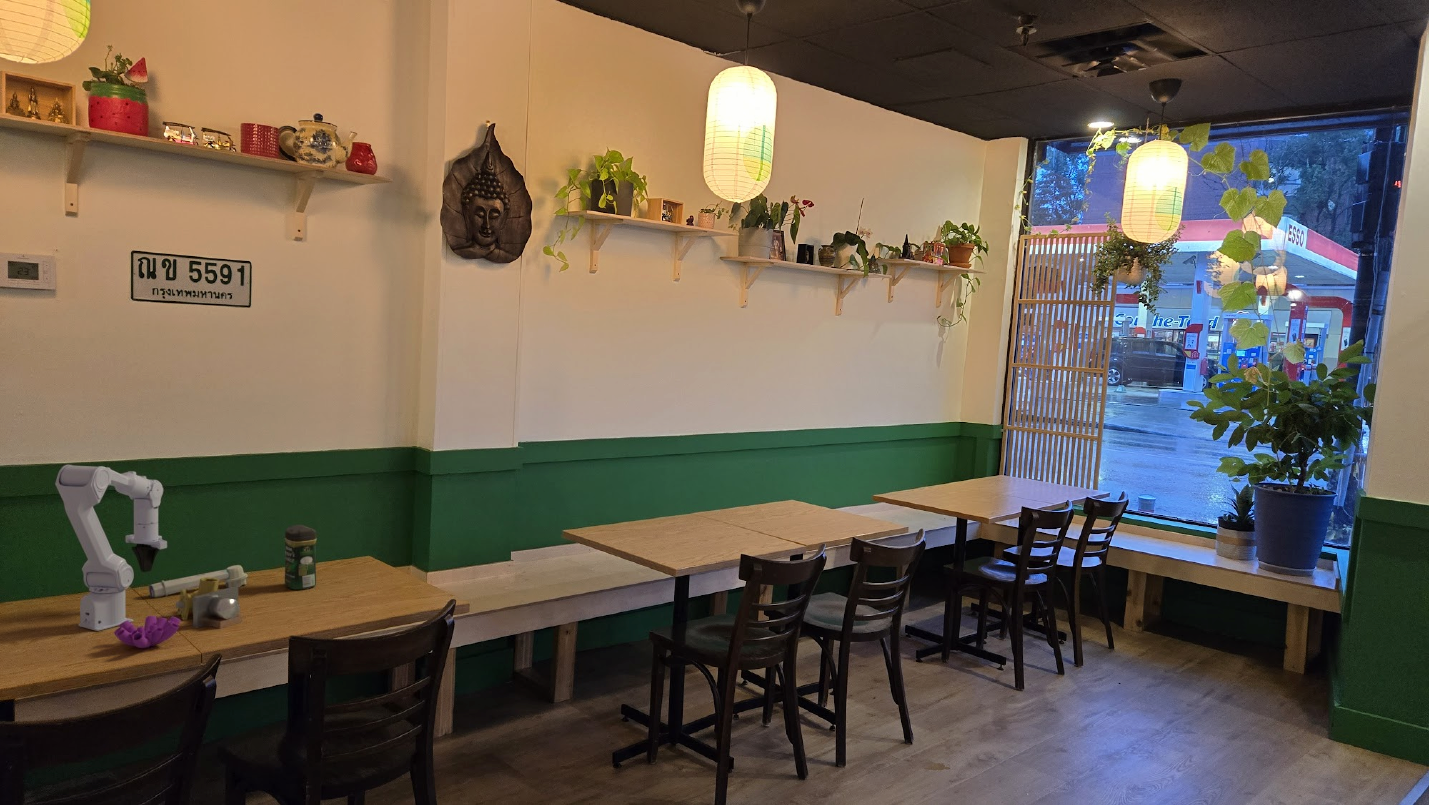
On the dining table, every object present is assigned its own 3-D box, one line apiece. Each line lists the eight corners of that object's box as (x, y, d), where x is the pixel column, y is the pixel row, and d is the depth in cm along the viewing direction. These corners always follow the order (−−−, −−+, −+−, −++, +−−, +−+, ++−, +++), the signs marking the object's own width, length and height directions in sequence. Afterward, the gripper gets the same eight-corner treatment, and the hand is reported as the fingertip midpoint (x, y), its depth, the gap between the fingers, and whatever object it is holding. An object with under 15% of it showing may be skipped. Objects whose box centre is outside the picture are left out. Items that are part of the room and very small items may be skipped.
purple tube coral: (112, 665, 221) (100, 628, 224) (177, 648, 234) (165, 614, 236) (131, 645, 216) (118, 608, 218) (196, 629, 228) (183, 595, 231)
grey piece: (147, 582, 265) (242, 559, 282) (151, 605, 267) (245, 580, 283) (151, 586, 261) (247, 562, 278) (155, 609, 263) (250, 584, 279)
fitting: (210, 631, 238) (210, 601, 237) (193, 627, 240) (193, 597, 240) (251, 619, 249) (251, 590, 248) (233, 615, 251) (234, 586, 251)
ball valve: (208, 610, 258) (167, 611, 251) (215, 573, 258) (174, 573, 251) (222, 624, 249) (180, 626, 242) (229, 586, 249) (187, 587, 241)
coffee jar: (280, 585, 282) (281, 525, 280) (307, 581, 287) (307, 522, 286) (292, 592, 275) (293, 530, 273) (319, 587, 280) (320, 527, 279)
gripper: (177, 523, 255) (177, 571, 256) (143, 517, 261) (143, 564, 262) (152, 527, 248) (152, 577, 249) (118, 521, 254) (118, 569, 255)
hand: (146, 571), depth 255 cm, fingers closed
